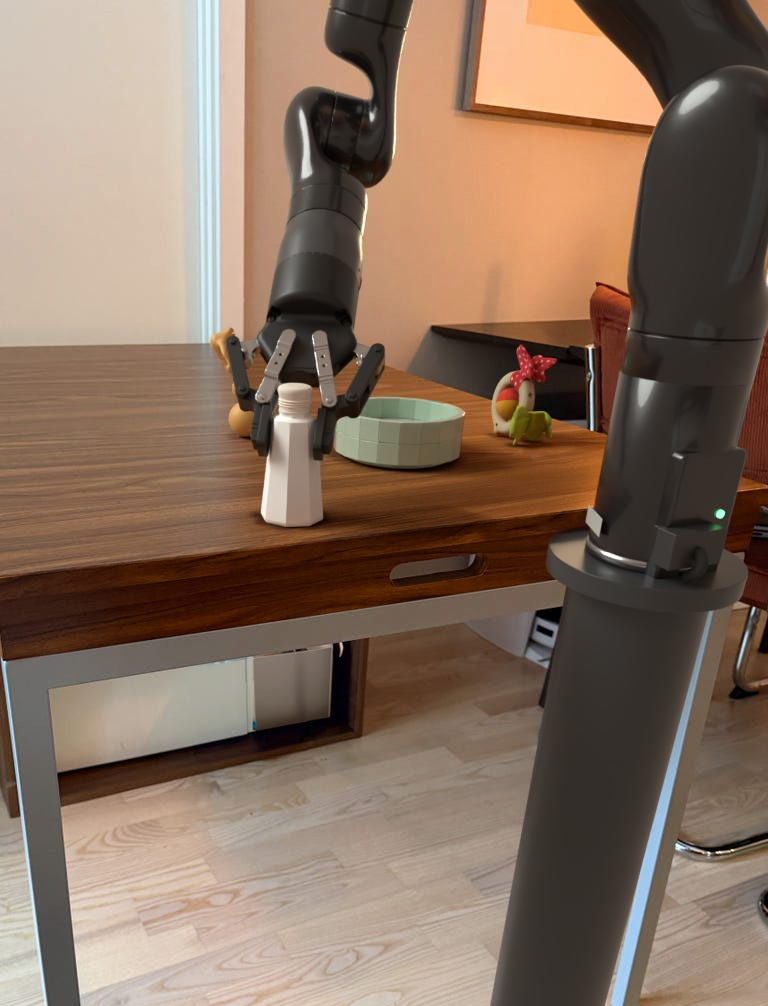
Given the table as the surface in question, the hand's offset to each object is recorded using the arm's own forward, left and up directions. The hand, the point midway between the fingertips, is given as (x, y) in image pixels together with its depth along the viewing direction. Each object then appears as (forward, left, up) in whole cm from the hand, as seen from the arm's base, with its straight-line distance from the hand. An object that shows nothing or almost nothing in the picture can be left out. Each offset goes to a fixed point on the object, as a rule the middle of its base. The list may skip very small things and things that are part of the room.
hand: (290, 452), depth 69 cm
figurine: (+32, -6, -6) cm, 33 cm away
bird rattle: (+22, -37, -6) cm, 43 cm away
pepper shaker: (+2, -1, -6) cm, 7 cm away
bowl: (+19, -20, -6) cm, 28 cm away
